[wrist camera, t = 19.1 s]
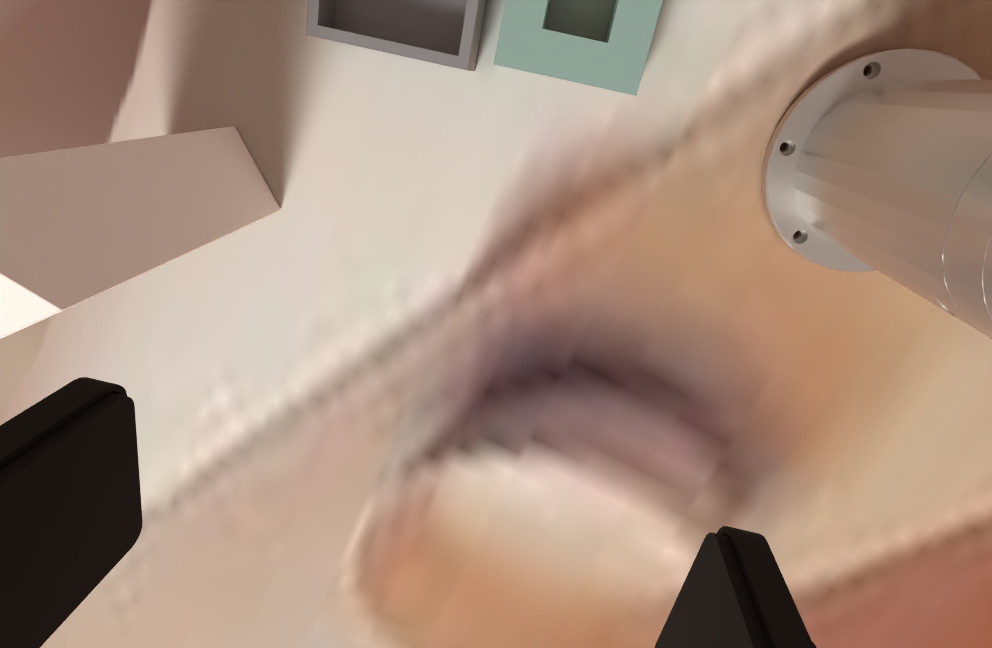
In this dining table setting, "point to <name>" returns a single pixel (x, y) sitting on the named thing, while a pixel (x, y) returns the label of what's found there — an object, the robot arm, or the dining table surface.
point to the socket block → (579, 45)
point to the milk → (116, 214)
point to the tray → (404, 27)
